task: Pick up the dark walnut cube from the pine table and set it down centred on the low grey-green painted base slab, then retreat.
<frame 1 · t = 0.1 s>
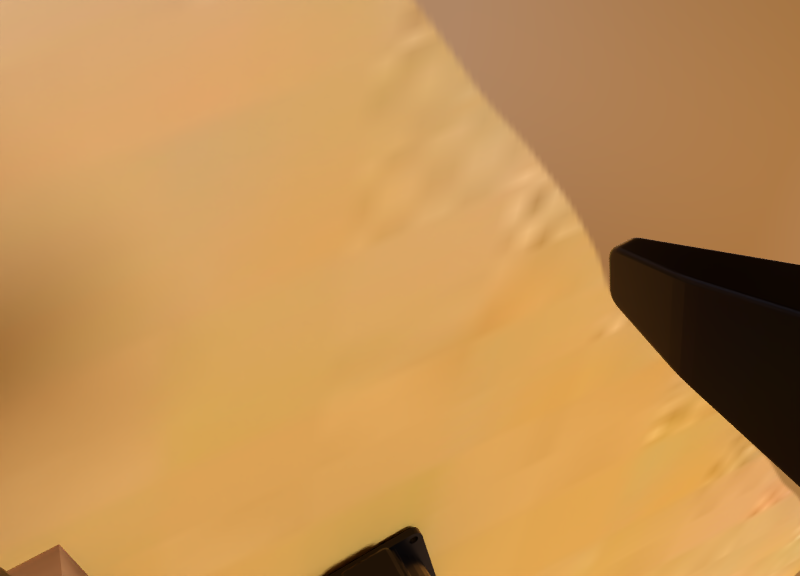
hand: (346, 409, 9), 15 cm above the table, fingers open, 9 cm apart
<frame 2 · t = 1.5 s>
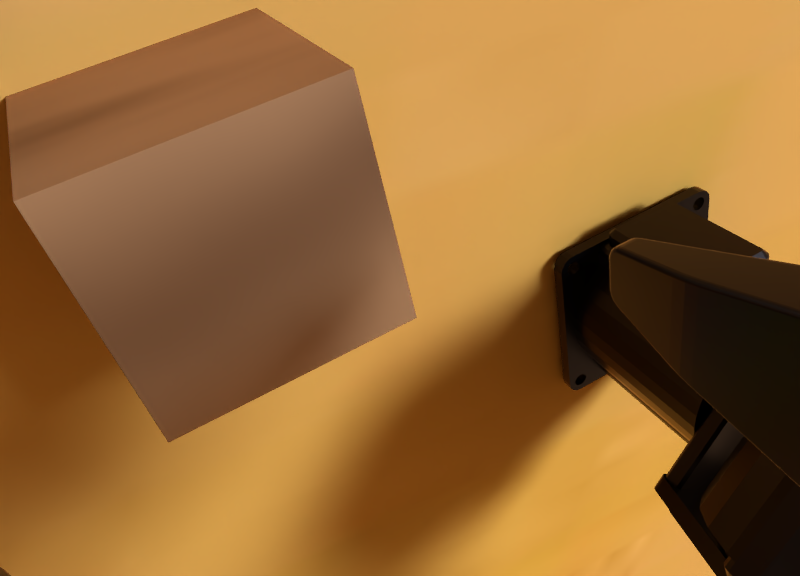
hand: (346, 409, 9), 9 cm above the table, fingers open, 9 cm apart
walnut cube: (186, 162, 16), on the table
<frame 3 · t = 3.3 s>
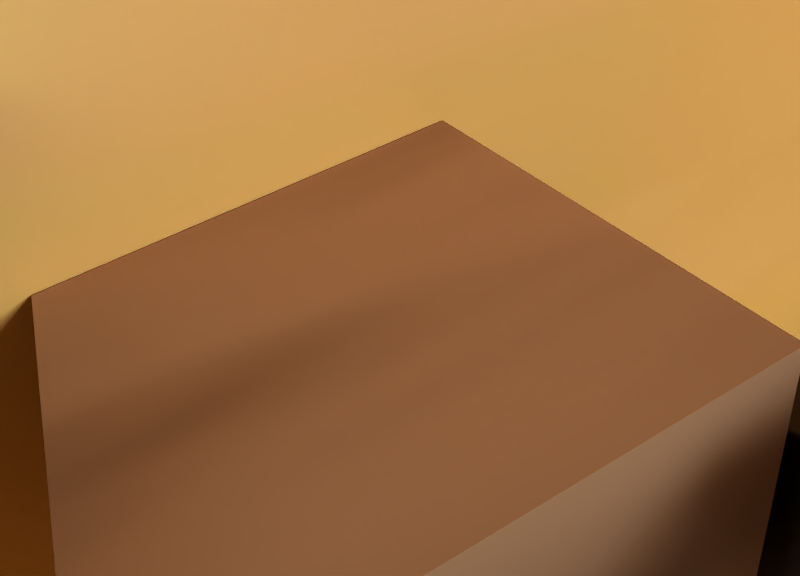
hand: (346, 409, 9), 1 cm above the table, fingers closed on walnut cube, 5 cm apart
walnut cube: (314, 357, 10), on the table, touching gripper
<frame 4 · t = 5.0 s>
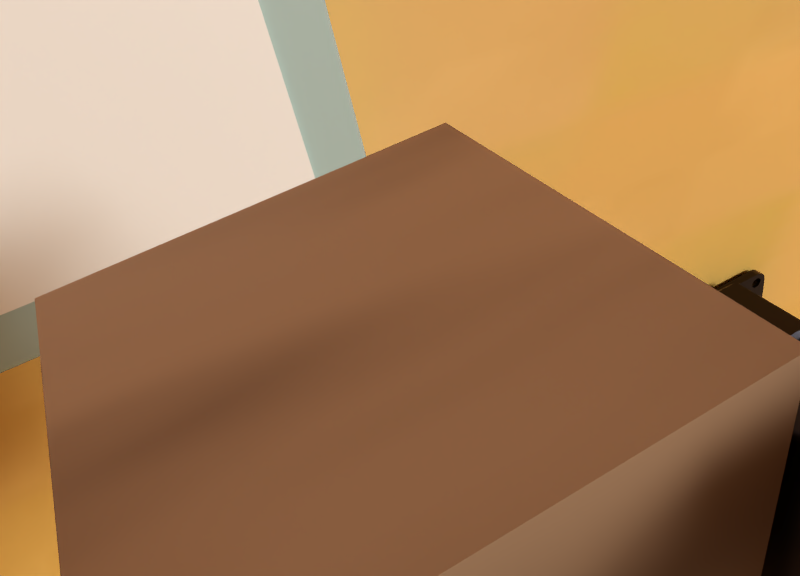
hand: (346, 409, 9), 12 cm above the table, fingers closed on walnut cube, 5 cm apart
base slab: (49, 44, 17), on the table
walnut cube: (316, 359, 10), point 11 cm above the table, touching gripper
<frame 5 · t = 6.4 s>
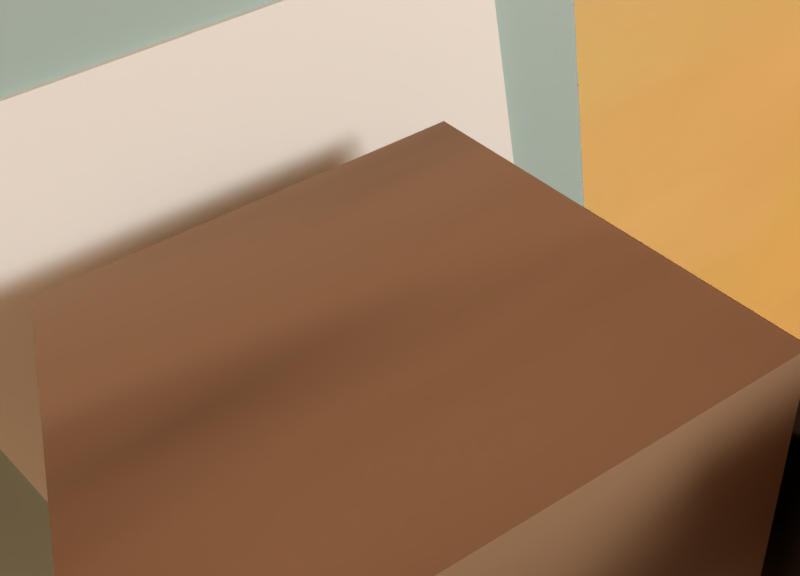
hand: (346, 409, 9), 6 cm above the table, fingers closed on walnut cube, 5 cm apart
base slab: (233, 232, 14), on the table
walnut cube: (314, 358, 10), point 4 cm above the table, touching gripper
when the fingers open (5 cm above the table, at t = 7.2 s): walnut cube drops 1 cm, resting on base slab.
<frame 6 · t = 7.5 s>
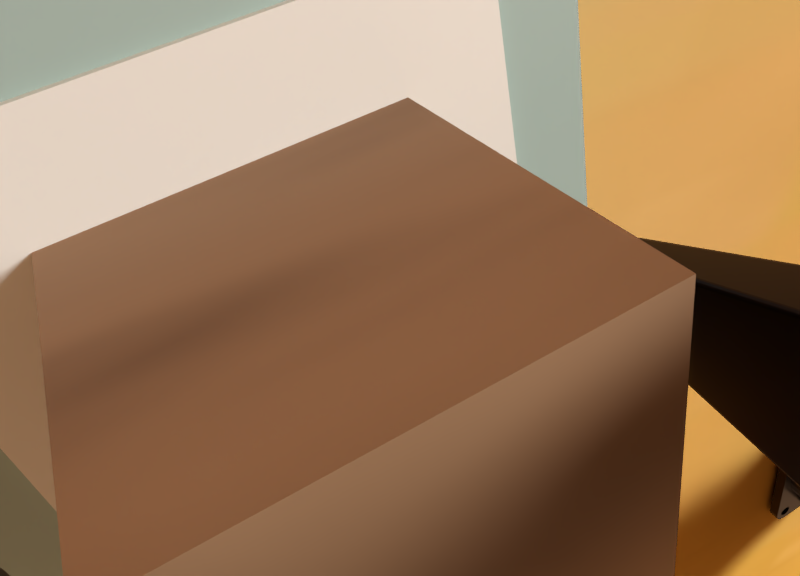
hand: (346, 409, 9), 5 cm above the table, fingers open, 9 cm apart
base slab: (236, 234, 14), on the table
walnut cube: (292, 318, 11), point 3 cm above the table, touching base slab
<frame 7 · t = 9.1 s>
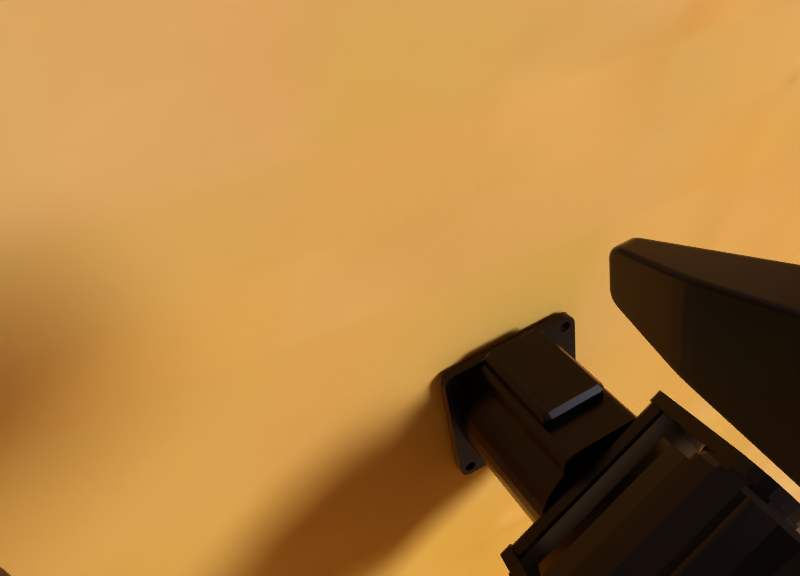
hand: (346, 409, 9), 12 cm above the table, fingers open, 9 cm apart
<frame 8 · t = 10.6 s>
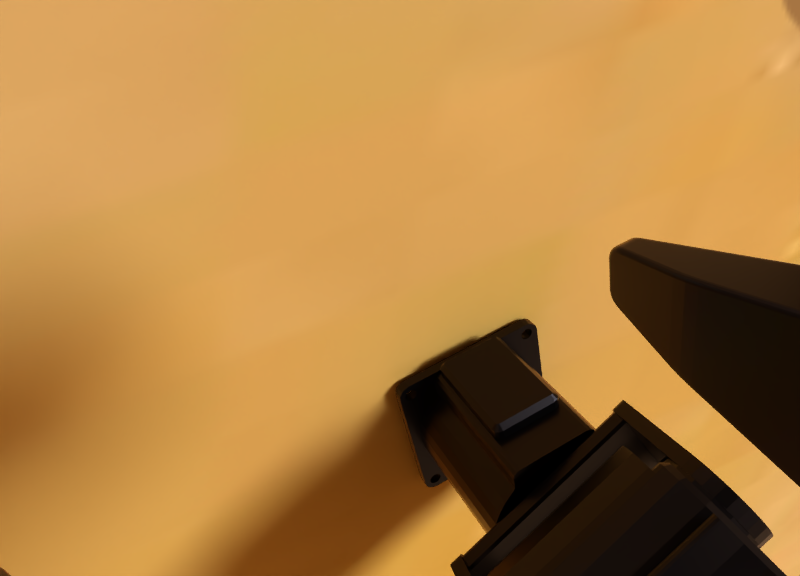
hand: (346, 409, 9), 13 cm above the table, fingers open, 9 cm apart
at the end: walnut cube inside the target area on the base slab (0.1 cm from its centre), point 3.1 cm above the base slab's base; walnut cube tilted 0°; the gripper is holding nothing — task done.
